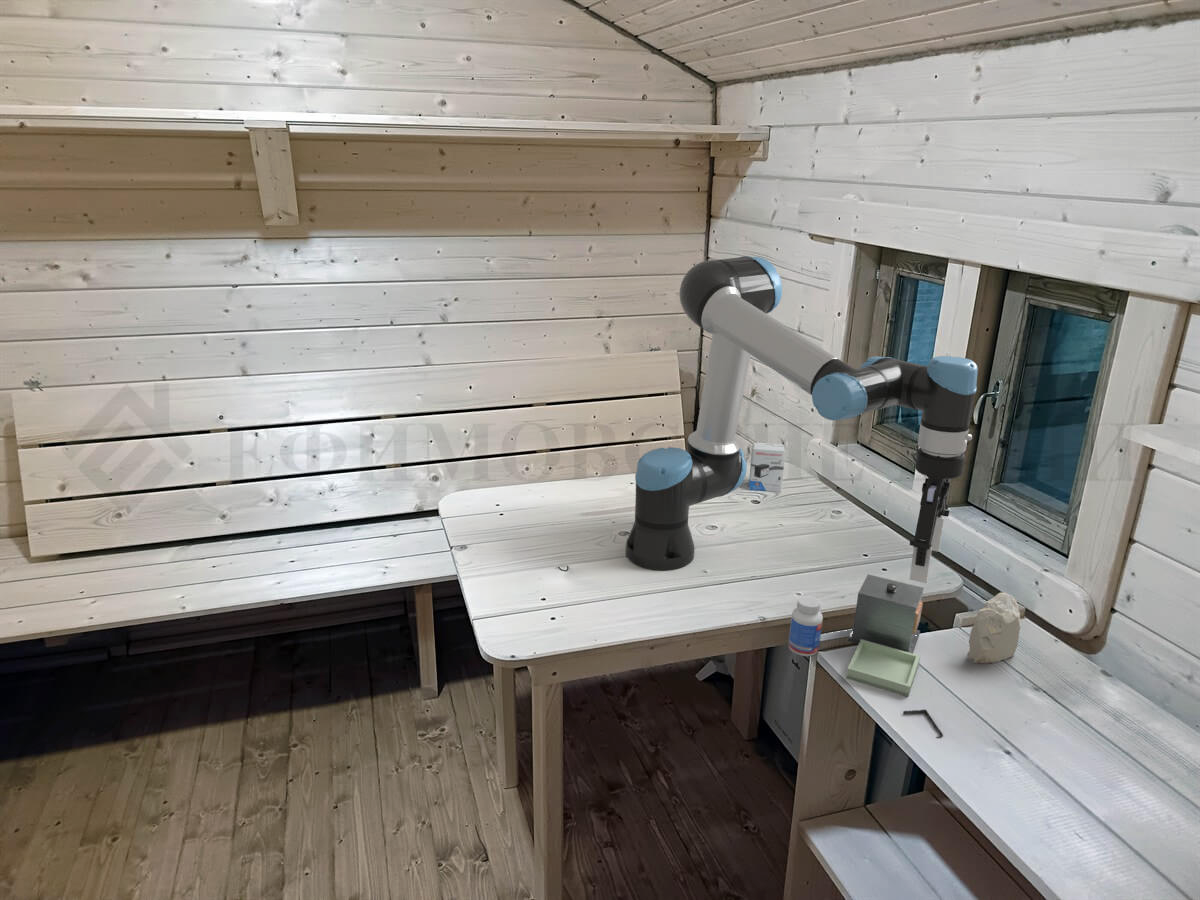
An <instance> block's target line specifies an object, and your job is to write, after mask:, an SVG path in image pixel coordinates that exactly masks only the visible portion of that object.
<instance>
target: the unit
mask: <svg viewBox="0 0 1200 900" xmlns="http://www.w3.org/2000/svg"><path fill="white" fill-rule="evenodd" d="M923 594H924V587H921V586H917V585H914V584H909V583H905V582H901V581H897V580H892V579H888V578H884V577H880V576H877V575H873V574H867V576H866V577H865V579H864V581H863V582H862V585H861V587H860V589H859V590H858V593H857V597H856V598H857V601H856V606H855V613H854V621H853V626H852V628H851V631H853V634H852V637H848V636H847V642H849V643H852V644H856V645H859V643H860V640H861V639H862V640H866V641H869V642H873V643H877V644H880V645H884V646H887V647H891V648H895V649H898V650H902V651H905V652H909V653H912V654H914V651H915V648H916V645H917V643H918V640H919V637H920V634H921V630H919V629H918V627H919V623H920V622H921V615H922V610H923V604H924V602H923V601H922V600H923ZM851 631H850V632H851ZM915 635H917V636H915Z"/></svg>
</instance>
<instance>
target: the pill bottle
mask: <svg viewBox="0 0 1200 900" xmlns="http://www.w3.org/2000/svg"><path fill="white" fill-rule="evenodd" d="M820 610H821V601H820V599H818V598H817V597H815V596H811V595H801V596H799V597H798V598H797V601H796V607H794V609H793V610H792V612H791V618H790V629H789V637H788V648H789V650H790V651H791V652H793V653H794V654H796V655H798V656H803V657H812V656H814V655H817V654H818V652H819V649H820V643H821V634H822V627H823V621H824V620H823V619H824V617H823V614H822V612H821V611H820Z"/></svg>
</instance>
